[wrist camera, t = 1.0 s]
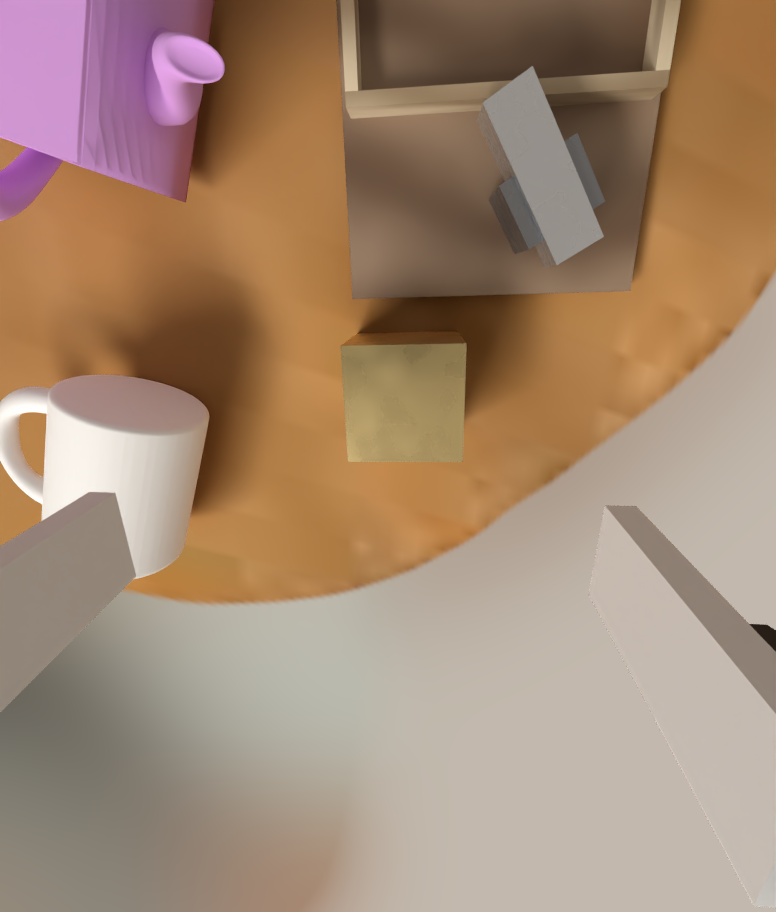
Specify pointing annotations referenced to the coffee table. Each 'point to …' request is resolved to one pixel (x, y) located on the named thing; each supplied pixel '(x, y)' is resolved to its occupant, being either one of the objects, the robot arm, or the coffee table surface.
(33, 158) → the teapot
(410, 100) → the framed base plate
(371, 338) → the gold cube
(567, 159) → the shafts
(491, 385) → the coffee table surface
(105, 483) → the mug
